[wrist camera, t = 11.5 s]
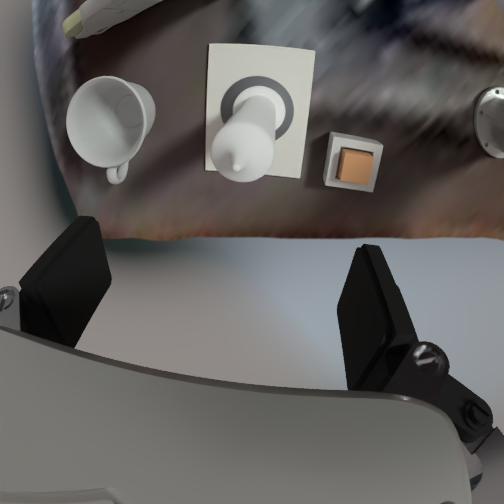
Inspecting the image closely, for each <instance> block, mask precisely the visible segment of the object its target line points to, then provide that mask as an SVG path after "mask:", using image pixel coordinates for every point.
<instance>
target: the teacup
mask: <svg viewBox="0 0 504 504" xmlns="http://www.w3.org/2000/svg"><path fill="white" fill-rule="evenodd" d="M154 119H155V104H154V101H153V99H152V97H151V95H150V94H149V92H148V91H147V90H146V89H144V88H143V87H142V86H140V85H138V84H135V83H130V82H126V81H124V80H122V79H120V78H117V77H113V76H101V77H97V78H94V79H91V80H89V81H87V82H86V83H84V84H83V85H82V86H81V87H80V88H79V89H78V90H77V91H76V93H75V94H74V96H73V98H72V99H71V102H70V104H69V107H68V111H67V117H66V126H67V133H68V136H69V139H70V142H71V144H72V146H73V148H74V149H75V151H76V152H77V153H78V154H79V155H80V157H81V158H83V159H84V160H85V161H86V162H88V163H90V164H92V165H94V166H97V167H102V168H107V179H108V181H109V182H110V183H111V184H119V183H121V182H122V181H123V180H124V179H125V177H126V175H127V171H128V162H129V160H130V159H131V158H132V157H133V156H134V155H135V154H136V153H137V151H138V150H139V148H140V146H141V144H142V142H143V139H144V137H145V136H146V135H147V134H148V132H149V131H150V129H151V127H152V125H153V122H154ZM118 166H119V168H118ZM117 168H118V173H117Z"/></svg>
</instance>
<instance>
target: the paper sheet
mask: <svg viewBox="0 0 504 504" xmlns="http://www.w3.org/2000/svg"><path fill="white" fill-rule="evenodd" d="M314 59H315V51H312V50H304V49H297V48H288V47H278V46H266V45H250V44H209V59H208V81H207V109H206V166H205V170H212V171H218V170H217V169H216V168H215V166H214V164H213V162H212V159H211V154H210V148H211V143H212V140H213V138H214V136H215V135H216V133H217V132H218V131H219V130H220V129H221V127H222V126H223V125H224V124H225V123H226V122H227V121H228V120H229V119H230V117H231V116H232V115H233V105H234V102H235V99H236V98H237V96H238V95H239V94H240V93H241V92H242V91H244V90H245V89H247V88H250V87H253V86H265V87H268V88H271V89H273V90H274V91H276V92H277V93H278V94H279V95H280V96H281V98H282V100H283V102H284V104H285V118H284V120H283V122H282V124H281V126H280V127H279V128H278V129H277V130H275V157H274V161H273V164H272V166H271V167H270V169H269V170H268V171H267V172H266V173H265V174H264V175H273V176H283V177H292V178H300V174H301V167H302V160H303V153H304V145H305V137H306V129H307V121H308V113H309V105H310V96H311V87H312V78H313V69H314Z"/></svg>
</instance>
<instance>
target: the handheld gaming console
mask: <svg viewBox="0 0 504 504" xmlns="http://www.w3.org/2000/svg"><path fill="white" fill-rule="evenodd" d="M160 1H162V0H87V1H86V2H84V3H83V4H82V5H81V6H80V8H79V9H78V10H77V11H75V12H74V13H73V14H72V15H70V16H69V17H68V18H67V19H66V20H65V21H64V23H63V25H62V28H63V31H64V34H65V36H66V37H73V36H75V37H76V38H77V39H79V38H86V37H88V36H90V35H95V34H101V33H103V32H104V31H106V30H107V29H109V28H110V27H112V26H113V25H116V24H118V23H121V22H123V21H125V20H127V19H129V18H131V17H133V16H134V15H136V14H138V13H140V12H141V11H143V10H145V9H147V8H149V7H151V6H152V5H154V4H156V3H158V2H160Z"/></svg>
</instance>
